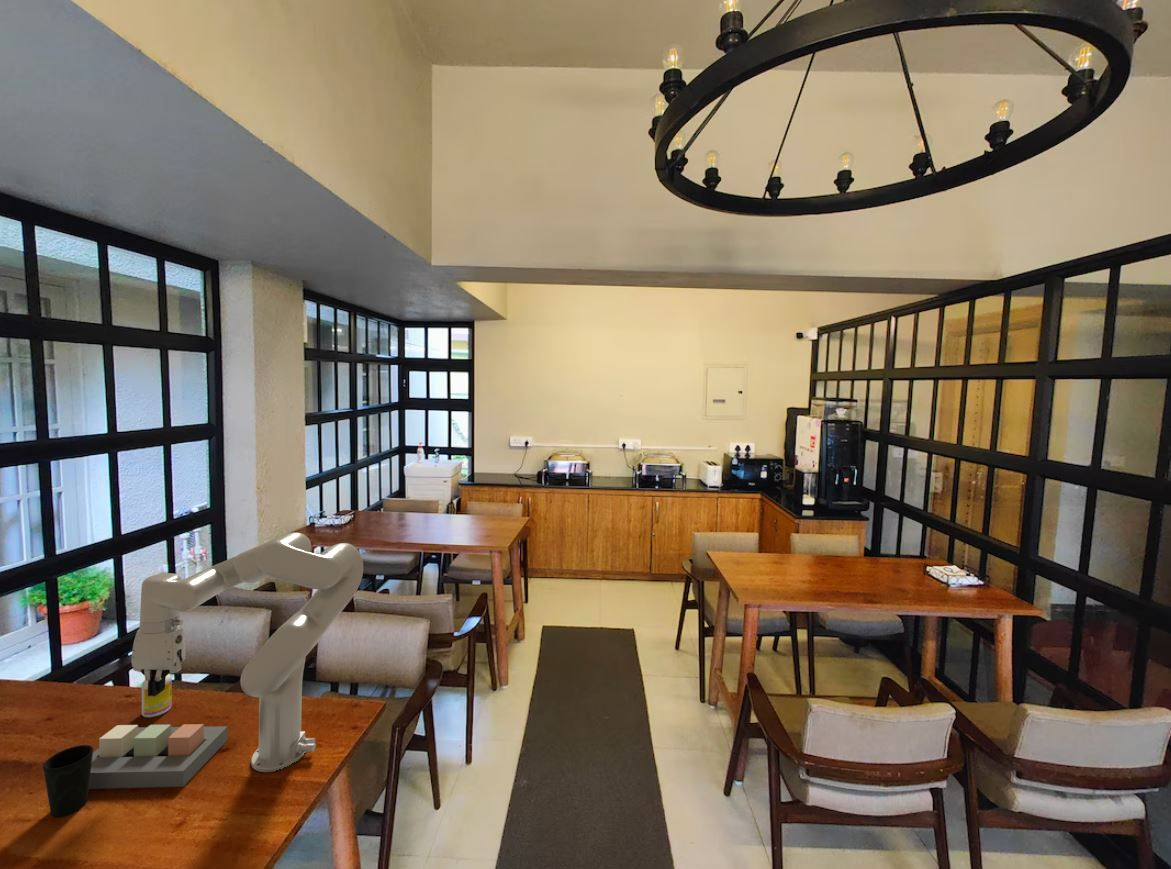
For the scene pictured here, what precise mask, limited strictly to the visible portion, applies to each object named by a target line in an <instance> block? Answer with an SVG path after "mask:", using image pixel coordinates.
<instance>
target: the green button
mask: <svg viewBox="0 0 1171 869" xmlns="http://www.w3.org/2000/svg"><path fill="white" fill-rule="evenodd" d="M171 727H172V724H150V725H148V726H147V728H146V729H145V730H143V731H142V732H141V733H140V734H139V735H137V736H136V737H135V738H134V755H133V757H155V756H158V754H159V753H160V752H162V751H163V750H164V749H165V748H166V747H167V746H168V738H169V737H170V736H171Z"/></svg>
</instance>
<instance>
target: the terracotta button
mask: <svg viewBox="0 0 1171 869" xmlns="http://www.w3.org/2000/svg"><path fill="white" fill-rule="evenodd" d="M204 725H205V724H203V723H201V724H200V723H199V724H198V723H196V724H194V723H193V724H191V723H189V724H185V723H184V724H182V725H181V726H179V727H180V728H179V729H178V730H176V731H175V732H174V733H173V734H172V735H171V736H170V737H169V738H168V754H167V756H190V755H191V754H192V753H193V752H194V751H195V750H196V749H197V748H198V747H199V746H200V745H201V744H202V743H204V727H205V726H204Z"/></svg>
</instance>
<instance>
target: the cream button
mask: <svg viewBox="0 0 1171 869" xmlns="http://www.w3.org/2000/svg"><path fill="white" fill-rule="evenodd" d="M138 728H139V725H138V724H120V725H119V724H118V725H117V724H116V725H115V726H114V727H112V729H111V730H109V731H107V732H106V733H105V734H103V735H102V736H101V737H99V738H98V739H99V740H98V747H99V748H98V749H99V757H125V756H126V755H125V754H126V753H127V752H128V751H130V750H131V749H132V748H133V747H134V738H135V737H136V736H137V735H138Z"/></svg>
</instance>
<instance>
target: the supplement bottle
mask: <svg viewBox="0 0 1171 869" xmlns="http://www.w3.org/2000/svg"><path fill="white" fill-rule="evenodd" d="M172 681H173V680H172V674H168V675H167V676H166V679H165V689H164V690H163V691H162V692H161V693H159V694H158V695H156V696H148V681H146V680H145V679H144V680H143V682H142V683H141V715H142V716H143V718H155V717H158V716H161V715H163V714H165V713H166V712H168V711H170V709H171V708H172V702H173V700H172V698H173V697H172V692H173V691H172V690H173V689H172V685H173V684H172Z"/></svg>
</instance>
